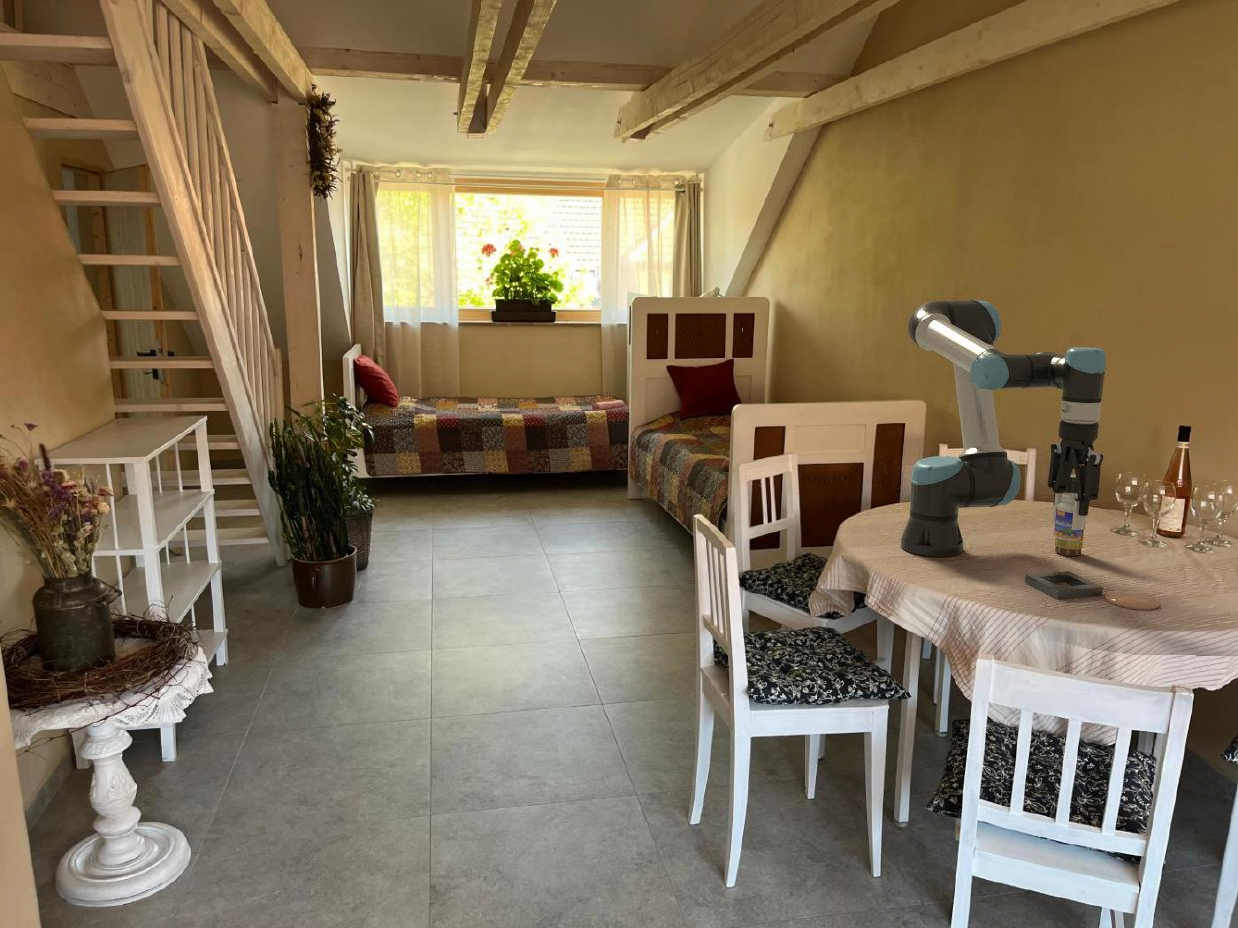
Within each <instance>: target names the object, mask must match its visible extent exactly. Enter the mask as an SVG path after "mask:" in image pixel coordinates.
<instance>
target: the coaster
mask: <svg viewBox="0 0 1238 928" xmlns="http://www.w3.org/2000/svg"><path fill="white" fill-rule="evenodd" d="M1105 600H1106V602H1107V603H1110V604H1112V605H1113V606H1116V607H1121V608H1124V609H1129V610H1135V611H1153V610H1156V609H1159V608H1160V600H1158V599H1157V598H1156V597H1153V596H1150V595H1147V594H1144V593H1141V592H1136V591H1127V590H1114V591H1109V592H1107V593H1106V594H1105Z"/></svg>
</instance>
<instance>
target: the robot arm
mask: <svg viewBox="0 0 1238 928" xmlns="http://www.w3.org/2000/svg"><path fill="white" fill-rule="evenodd" d="M1000 332H1002V323H1001V317H1000V314H999V312H998V310H997V308H996V307H995V306H994V305H993V304H991V303H990V302H988V301H985V300H977V299H969V300H932V301H929V302H925V303H923V304H921V305H919V307H917V308H916V309H915V310H914V311H913V312H912V314H911V315H910V317H909V319H908V322H907V333H908V336H909V338H910V339H911V341H912V342H913V343H914V344H915V345H917V347H919V348H920V349H923V350H924V351H928V352H929V351H934V352H935V353H936V354H939V355H940V356H942V357H944V358H946V359H947V360H948V361H950V362H952V363H953V371H954V380H955V387H956V388H955V389H956V396H957V397H956V398H957V404H958V413H959V414H958V415H959V419H960V421H959V422H960V430H961V438H962V447H963V450H962V452H961V453H960V454H959V455H958V457H956V456H952V455H944V456H942V455H937V456H936V455H935V456H930V457H924V458H922V459H918V461H916V462H915V463H914V464H913V466H912V472H911V477H910V482H911V483H910V499H909V500H910V501H909V516H908V517H909V518H908V520H907V523H906V525H905V527H904V530H903V533H902V535H901V538H900V548H901V547H902V548H903V550H904V551H906V552H908V551H911V552H913V553H912V554H914V553H916V554H915V555H919V554H921V555H920V556H926V557H936V558H945V557H946V558H948V557H955V556H958V555H962V553H963V551H964V540H963V536H962V533H961V528H960V525H959V510H960V509H966V508H967V509H970V508H987V507H988V508H995V507H999V506H1007V505H1009V504H1010V503H1012V502H1013V501H1014V500H1015V498H1016V496H1017V495H1018V493H1019V490H1020V487H1021V471H1020V468H1019V466H1017V465H1018V464H1017V463H1016V462H1015V461H1014V460H1011V459H1009V458H1008V452H1007V450H1006V449H1004V448H1003V447H1002V446H1001V444H1000V439H999V431H998V422H997V416H996V406H995V397H994V393H993V391H994V390H995V391H996V390H997V391H998V390H1011V389H1012V390H1014V389H1043V388H1044V389H1045V388H1047V389H1049V388H1050V389H1059V390H1062V396H1061V408H1060V418H1061V419H1062V420H1060V421H1059V426H1058V437H1059V439H1061V440H1060V442H1059V443H1051V444H1050V463H1049V471H1048V479H1047V487H1048V488H1049V489H1050V488H1051V490H1052V491H1053V493H1054V494H1053V502H1052V503H1053V512H1052V513H1053V515H1052V523H1055V519H1056V510H1057V505H1058V504H1059V503H1061V502H1062V500H1061V498H1062V494H1063V493H1065V492H1068V491H1069V490H1068V489H1067V486H1068V483H1069V479H1070V476H1071V474H1072V473H1073V471H1074V472H1075V475H1076V484H1077V495H1078V499H1075V501H1074V510H1073V520H1072V530H1084V531H1085V530H1086V523H1087V516H1088V515H1089V508H1090V502H1091V501H1095V500H1096V501H1097V500H1098V499H1099V491H1100V480H1101V479H1100V477H1101V469H1102V468H1101V466H1102V463H1103V460H1104V458H1105V457H1104V455H1103V453H1099V454H1098V453H1096V452H1095V449H1094V441H1096V440H1098V437H1099V428H1100V424H1099V422H1098V421H1099V420H1100V419H1101V412H1102V411H1101V410H1102V398H1103V390H1104V383H1105V374H1106V370H1107V367H1106V355H1107V353H1106V351H1105V350H1104V349H1103V348H1099V347H1087V346H1086V347H1084V346H1083V347H1082V346H1081V347H1080V346H1077V347H1069V348H1067V351H1066V354H1062V353H1061V354H1060V353H1056V352H1053V351H1052V352H1051V351H1049V352H1046V351H1043V352H1036V353H1027V354H1026V353H1025V354H1024V353H1021V354H1020V353H1018V354H1017V353H1014V354H1012V353H1011V354H1008V353H1006V352H1003V351H1001V350H1000V349H998V348H996V347H994V344H996V343H997V341H998V340H999V339H1000V335H1001V334H1000ZM902 548H901V549H902ZM911 552H910V553H911Z"/></svg>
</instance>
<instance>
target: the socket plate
mask: <svg viewBox="0 0 1238 928" xmlns="http://www.w3.org/2000/svg"><path fill="white" fill-rule="evenodd" d="M1024 583H1025V584H1026V585H1028V586H1030V587H1032V588H1034V589H1035V590H1038V591H1040V592H1042V593H1044V594H1046V595H1048V596H1050V597H1052V598H1054V599H1056V600H1068V599H1081V598H1090V597H1091V598H1093V597H1100V596H1101V597H1103V596H1104V595H1103V594H1104V586H1102V585H1100V584H1099V583H1095V582H1094V581H1091V580H1089V579H1087V578H1085V577H1082V576H1080V575H1079V574H1076V573H1074V572H1071V571H1069V570H1067V571H1054V572H1053V571H1052V572H1042V573H1029V574H1025V578H1024ZM1057 584H1058V585H1057ZM1059 584H1067V585H1069V586H1059Z"/></svg>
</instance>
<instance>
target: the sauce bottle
mask: <svg viewBox="0 0 1238 928" xmlns="http://www.w3.org/2000/svg"><path fill="white" fill-rule="evenodd" d="M1067 489H1068V490H1069V491H1068V492H1064V493H1075V494H1077V484H1076V474H1074V473H1073V474H1072V473H1071V476H1070V479H1069V483H1068V486H1067ZM1084 534H1085V529H1084V530H1082V535H1081V539H1080V540H1077V541H1067V540H1061V539H1058V538H1056V537H1055V536H1054V538H1055V539H1054V547H1055V548H1054V551H1055V553H1056V554H1059V555H1061V556H1065V557H1066V556H1067V557H1069V556H1071V557H1076V556H1079V555H1081V553H1082V549H1083V546H1084Z"/></svg>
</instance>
